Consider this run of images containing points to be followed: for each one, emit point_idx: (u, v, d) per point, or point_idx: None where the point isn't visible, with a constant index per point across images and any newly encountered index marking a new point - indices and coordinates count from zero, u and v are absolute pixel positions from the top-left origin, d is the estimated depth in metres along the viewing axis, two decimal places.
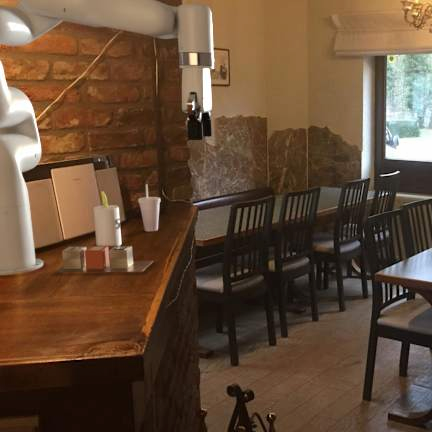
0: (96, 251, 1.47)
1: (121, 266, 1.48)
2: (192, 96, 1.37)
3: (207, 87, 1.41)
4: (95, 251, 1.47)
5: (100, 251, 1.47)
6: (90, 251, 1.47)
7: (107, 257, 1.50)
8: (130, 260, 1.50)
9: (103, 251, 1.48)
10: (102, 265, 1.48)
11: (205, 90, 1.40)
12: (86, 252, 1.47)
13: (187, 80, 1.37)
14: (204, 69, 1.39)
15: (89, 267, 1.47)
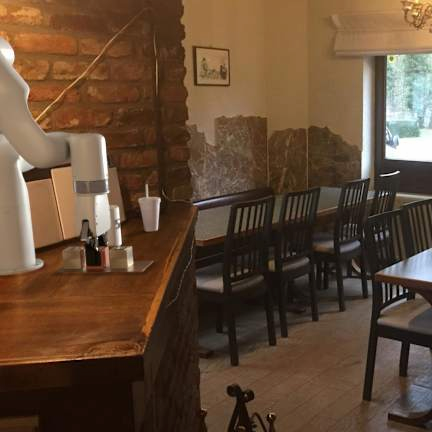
0: None
1: (121, 266, 1.48)
2: (85, 228, 1.42)
3: (101, 212, 1.45)
4: None
5: (100, 251, 1.47)
6: None
7: (107, 257, 1.50)
8: (130, 260, 1.50)
9: (103, 251, 1.48)
10: (102, 265, 1.48)
11: (98, 216, 1.44)
12: None
13: (79, 208, 1.42)
14: (97, 196, 1.43)
15: (89, 267, 1.47)
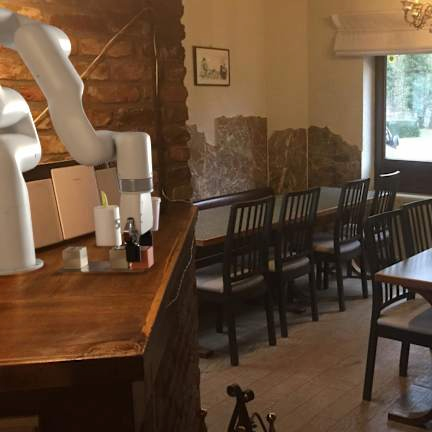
0: (142, 251, 1.47)
1: (121, 266, 1.48)
2: (129, 222, 1.42)
3: (146, 210, 1.46)
4: (141, 251, 1.47)
5: (145, 251, 1.48)
6: None
7: (151, 257, 1.51)
8: None
9: (148, 251, 1.48)
10: (147, 265, 1.48)
11: (143, 214, 1.45)
12: None
13: (125, 206, 1.42)
14: (142, 194, 1.44)
15: (134, 267, 1.48)
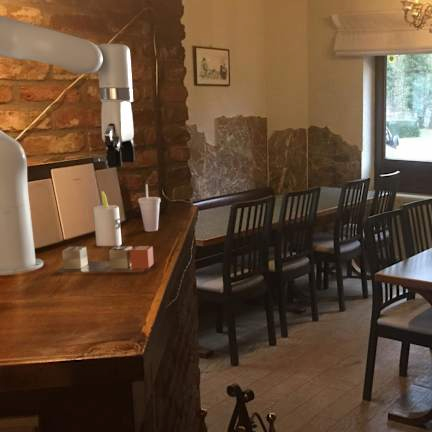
0: (142, 251, 1.47)
1: (121, 266, 1.48)
2: (110, 127, 1.51)
3: (126, 118, 1.55)
4: (141, 251, 1.47)
5: (145, 251, 1.48)
6: (136, 251, 1.47)
7: (151, 257, 1.51)
8: (130, 260, 1.50)
9: (148, 251, 1.48)
10: (147, 265, 1.48)
11: (123, 121, 1.54)
12: (132, 252, 1.47)
13: (106, 113, 1.51)
14: (122, 102, 1.53)
15: (134, 267, 1.48)
